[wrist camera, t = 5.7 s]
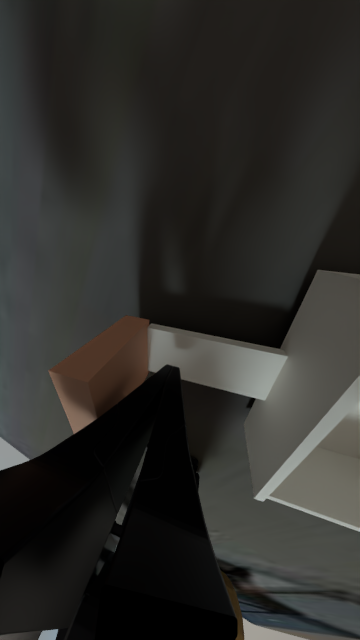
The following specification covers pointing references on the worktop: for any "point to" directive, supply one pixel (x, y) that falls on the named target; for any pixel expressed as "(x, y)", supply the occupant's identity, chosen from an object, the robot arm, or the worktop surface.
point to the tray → (254, 392)
